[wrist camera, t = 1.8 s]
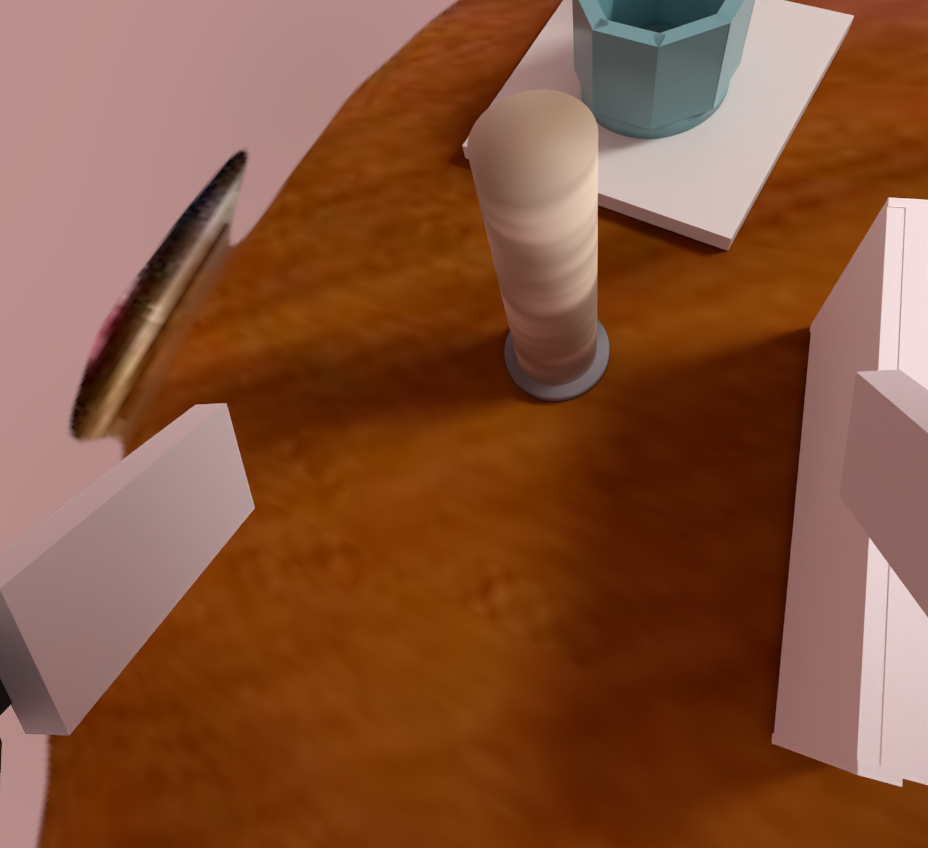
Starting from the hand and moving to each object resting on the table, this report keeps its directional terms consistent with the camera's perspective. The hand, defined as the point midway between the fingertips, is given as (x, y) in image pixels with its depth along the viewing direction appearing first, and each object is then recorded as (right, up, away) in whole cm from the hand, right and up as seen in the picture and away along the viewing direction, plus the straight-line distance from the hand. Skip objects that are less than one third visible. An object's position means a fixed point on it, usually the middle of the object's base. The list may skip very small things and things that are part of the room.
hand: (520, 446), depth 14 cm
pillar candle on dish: (+4, +4, +19) cm, 20 cm away
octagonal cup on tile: (+10, +19, +24) cm, 32 cm away
